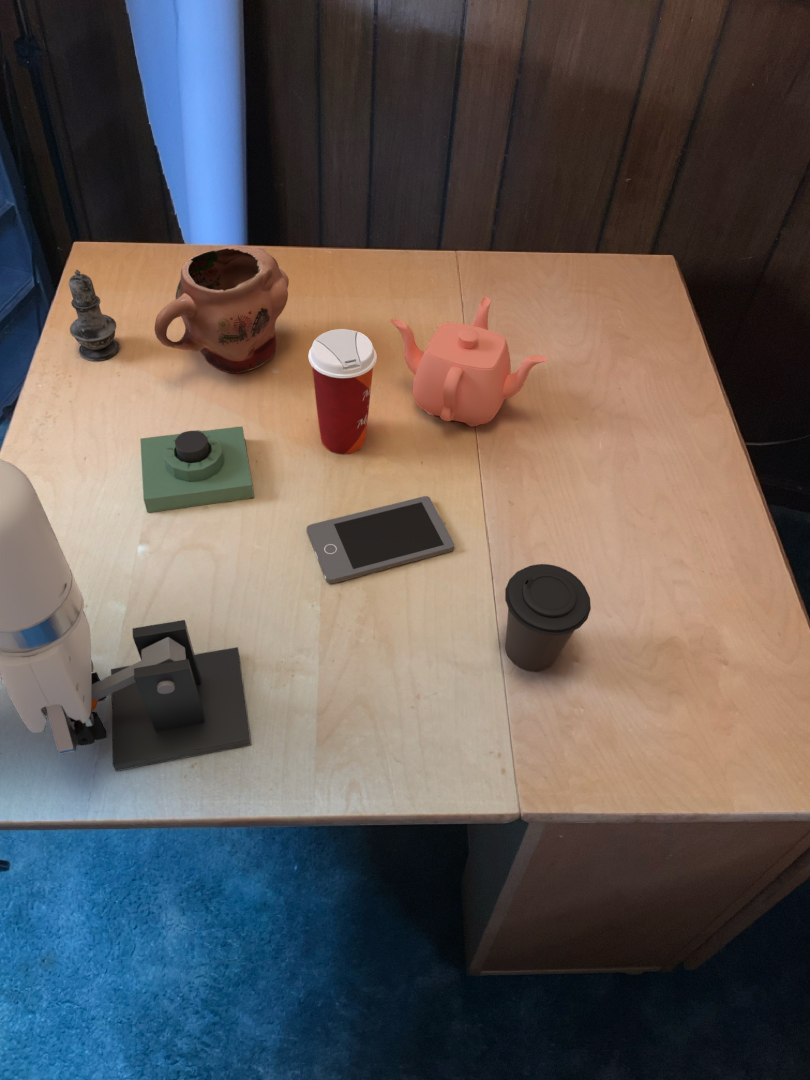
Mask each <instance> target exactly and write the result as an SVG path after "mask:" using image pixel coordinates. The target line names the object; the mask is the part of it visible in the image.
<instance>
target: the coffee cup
mask: <svg viewBox="0 0 810 1080" xmlns="http://www.w3.org/2000/svg"><path fill="white" fill-rule="evenodd" d="M504 590H505V591H504V593H505V594H504V600H505V603H506V606H507V621H506V630H505V631H506V632H505V652H506V655H507V657H508V659H509V660H510V661H511V663H513V664H514V665H515V666H516V667H518V668H519V669H522V670H524V671H527V672H534V673H535V672H536V673H537V672H542V671H545V670H547V669H549V668H551V667H552V666H553V664H554V663H555V662H556V660H557V659H558V657H559V655H561V652H562V651H563V650H564V648H565V646H566V645H567V644H568V642H569V640H570V639H571V637H572V636H573V634H574V632H575V631H576V630H578V629H580V628H581V627H582V626H583V625H584V624H585V623H586V622H587V620H588V618H589V615H590V612H591V609H592V606H591V597H590V595H589V593H588V590H587V588H586V586H585V585H584V583H583V582H582V581H581V580H580V579H579V577H578V576H576V575H575V574H574V573H572V572H571V571H569V570H567V569H566V568H563V567H561V566H557V565H555V564H554V565H553V564H547V563H539V564H532V565H528V566H525V567H524V568H521V569H520V570H518V571H516V572H515V573H514V574H513V575H512V576H511V577H510V578H509V580H508V582H507V584H506V587H505V589H504Z"/></svg>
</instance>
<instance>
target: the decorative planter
mask: <svg viewBox="0 0 810 1080" xmlns="http://www.w3.org/2000/svg"><path fill="white" fill-rule="evenodd" d="M289 284H290V280H289V276H288V275H287V273H286V272H285V271H284V270H283V269H282V268H280V266H279V263H278V261H277V260H276V258H275V257H274V256H273V255H271V254H269V253H268V252H267V251H266V250H265V249H263V248H260V247H246V246H239V245H227V246H222V247H218V248H215V249H214V248H213V249H210V250H205V251H202V252H200V253H198V254H195V255H194V256H192V257H190V258H189V259H188V260H186V261H185V262H184V264H183V266H182V267H181V268H180V280H179V282H178V285H177V288H176V292H175V299H174V300H172V301H170V302H168V303H167V304H166V305H165V306H164V307H163V308H162V309H161V310H160V311H159V313H158V314H157V315H156V318H155V322H154V334H155V337H156V339H157V340H158V341H159V342H160V344H162V345H163V346H165V347H168V348H172V349H178V350H181V351H191V352H200V353H201V354H202V356H203V357H204V359H205V361H206V363H208V364H209V365H211V366H212V367H214V368H216V369H217V370H218V371H222V372H225V373H230V374H231V373H232V374H239V373H245V372H248V371H251V370H254V369H257V368H259V367H260V366H262V365H263V364H265V363H266V362H268V361H269V360H271V359H272V358H273V357H274V356H275V354H276V350H277V335H276V323H277V322H276V321H277V320H278V318H279V317H280V316H281V314H282V313H283V311H284V309H285V307H286V306H287V302H288V298H289V291H288V289H289ZM180 317H181V319H182V321H183V324H184V333H183V336H182V337H181V338H180V339H179V340H176V341H172V340H171V339H169V338H168V336H167V334H168V328H169V326H170V325H171V324H172V322H174V320H176V319H178V318H180Z"/></svg>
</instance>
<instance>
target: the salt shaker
mask: <svg viewBox="0 0 810 1080" xmlns="http://www.w3.org/2000/svg"><path fill="white" fill-rule="evenodd" d="M68 287H69V291H70V293H71V296H72V300H71V303H70V304H71V307H72V308H74V309H75V312H76V315H77V318H76V319H75V320H73V322H72V323H71V324H70V326H69V333H70V335H71V336H72V337H73V338H74V339H75V341H76V342H77V343H78V344H79V348H78V354H79V355H80V357H81V358H82V359H84V360H86V361H90V362H104V361H108V360H110V359H112V358H113V357H115V356H117V354H118V353H119V352H120V349H121V348H120V343H119V341H118V340H116V338H115V334H116V329H117V322H116V320H115V319H114V318H113V317H111V316H110V315H107V314H105V313H103V312H102V310H101V307H100V304H101V303H102V301H101V298H100V297H99V296H98V295H97V294H96V290H95V286H94V283H93V280H92V279H91V277H90V276H88V275H87V274H85V273H81V271H80V270H78V269H76V270H75V271H74V274H73V275H72V276H70V277H69V279H68Z"/></svg>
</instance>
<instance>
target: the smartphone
mask: <svg viewBox="0 0 810 1080" xmlns="http://www.w3.org/2000/svg"><path fill="white" fill-rule="evenodd" d="M306 534H307V536H308V538H309V541H310V544H311V547H312V548H313V552H314V554H315V556H316V559H317V562H318V564H319V566H320V569H321V571H322V574H323V576H324V577H323V578H324V579H325V582H326V583H327V584H336V583H340V582H343V581H347V580H350V579H354V578H357V577H362V576H365V575H369V574H372V573H377V572H380V571H384V570H388V569H391V568H394V567H399V566H402V565H405V564H410V563H413V562H417V561H420V560H424V559H428V558H432V557H435V556H438V555H443V554H446V553H450V552H453V550H454V549H455V542H454V539H453V538H452V536H451V534H450V532H449V531H448V529H447V527H446V525H445V523H444V521H443V519H442V518H441V516H440V514H439V512H438V510H437V508H436V507H435V505H434V503H433V501H432V499H431V497H430V496H428V495H425V496H419V497H416V498H412V499H407V500H404V501H403V500H402V501H399V502H396V503H390V504H388V505H382V506H379V507H375V508H371V509H366V510H362V511H359V512H355V513H351V514H347V515H343V516H339V517H335V518H331V519H327V520H322V521H318V522H314V523H311V524H309V525H307V526H306Z"/></svg>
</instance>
